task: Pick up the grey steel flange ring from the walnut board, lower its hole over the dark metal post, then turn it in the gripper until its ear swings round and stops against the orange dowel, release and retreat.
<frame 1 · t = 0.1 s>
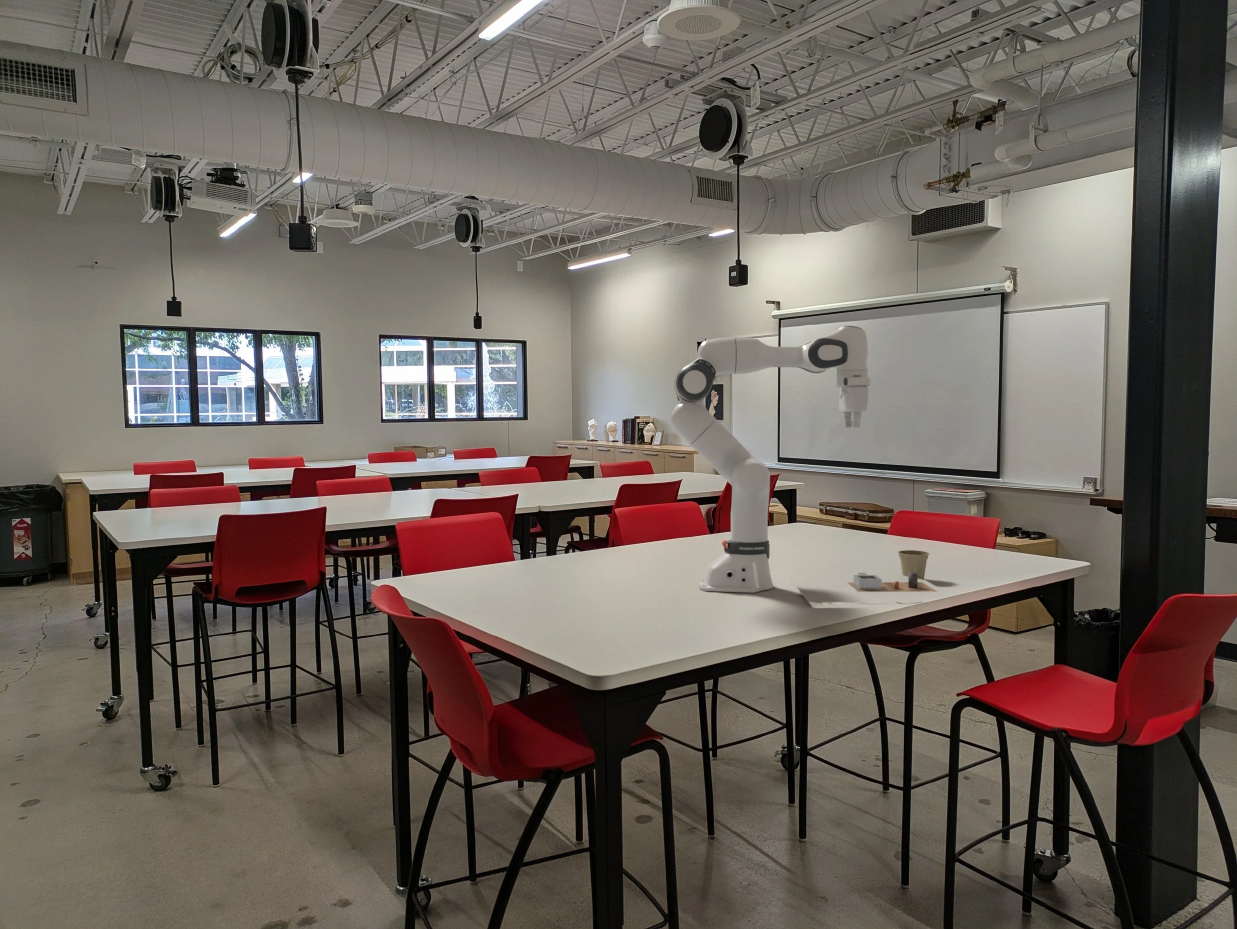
hand: (852, 427, 242), 48 cm above the table, fingers open, 8 cm apart
flower pot: (913, 580, 254), on the table
flange: (862, 583, 241), point 1 cm above the table, touching board
board: (890, 591, 236), on the table
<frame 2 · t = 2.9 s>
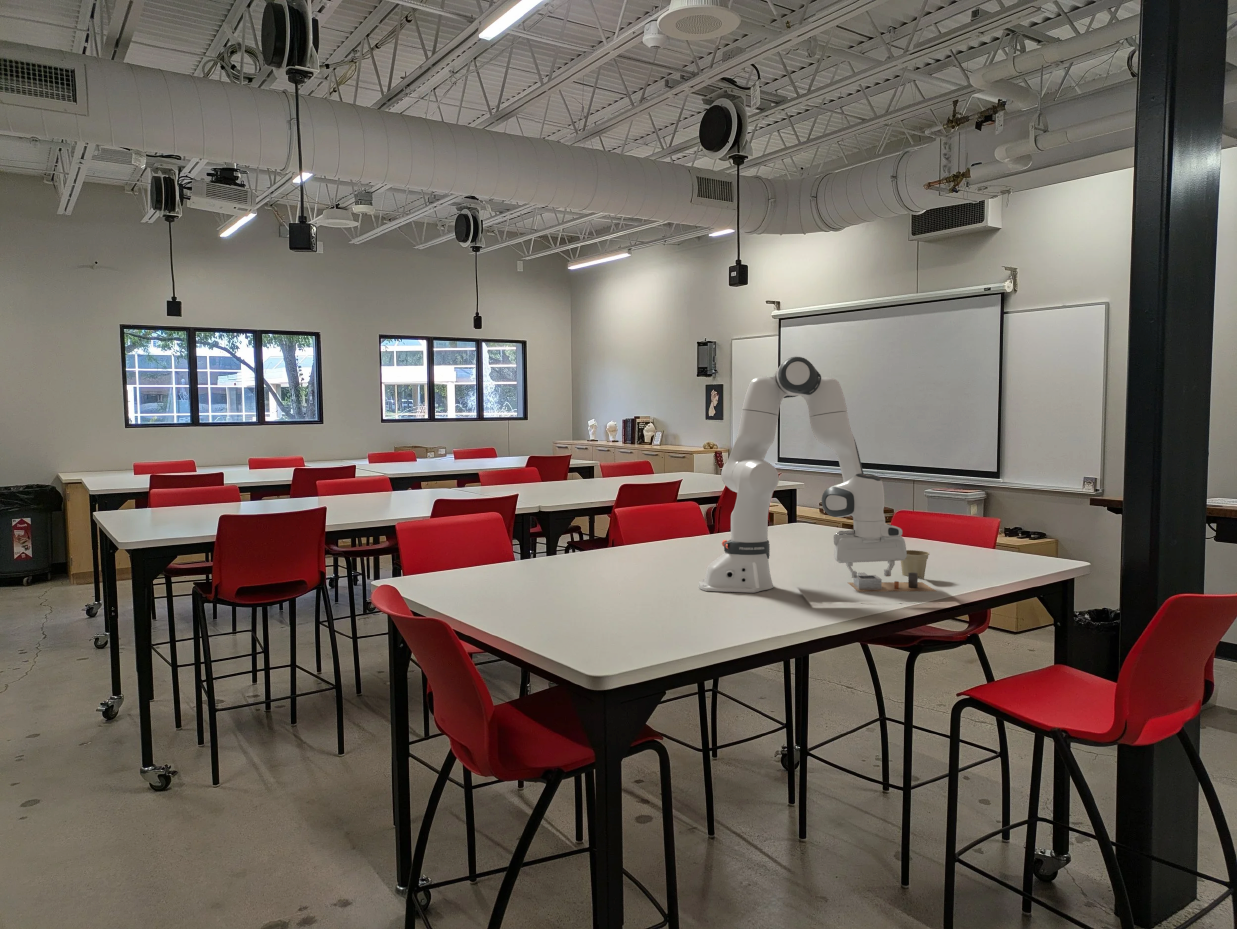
hand: (870, 576, 236), 4 cm above the table, fingers open, 8 cm apart
flange: (862, 583, 241), point 2 cm above the table, touching board, gripper
everything else where it was.
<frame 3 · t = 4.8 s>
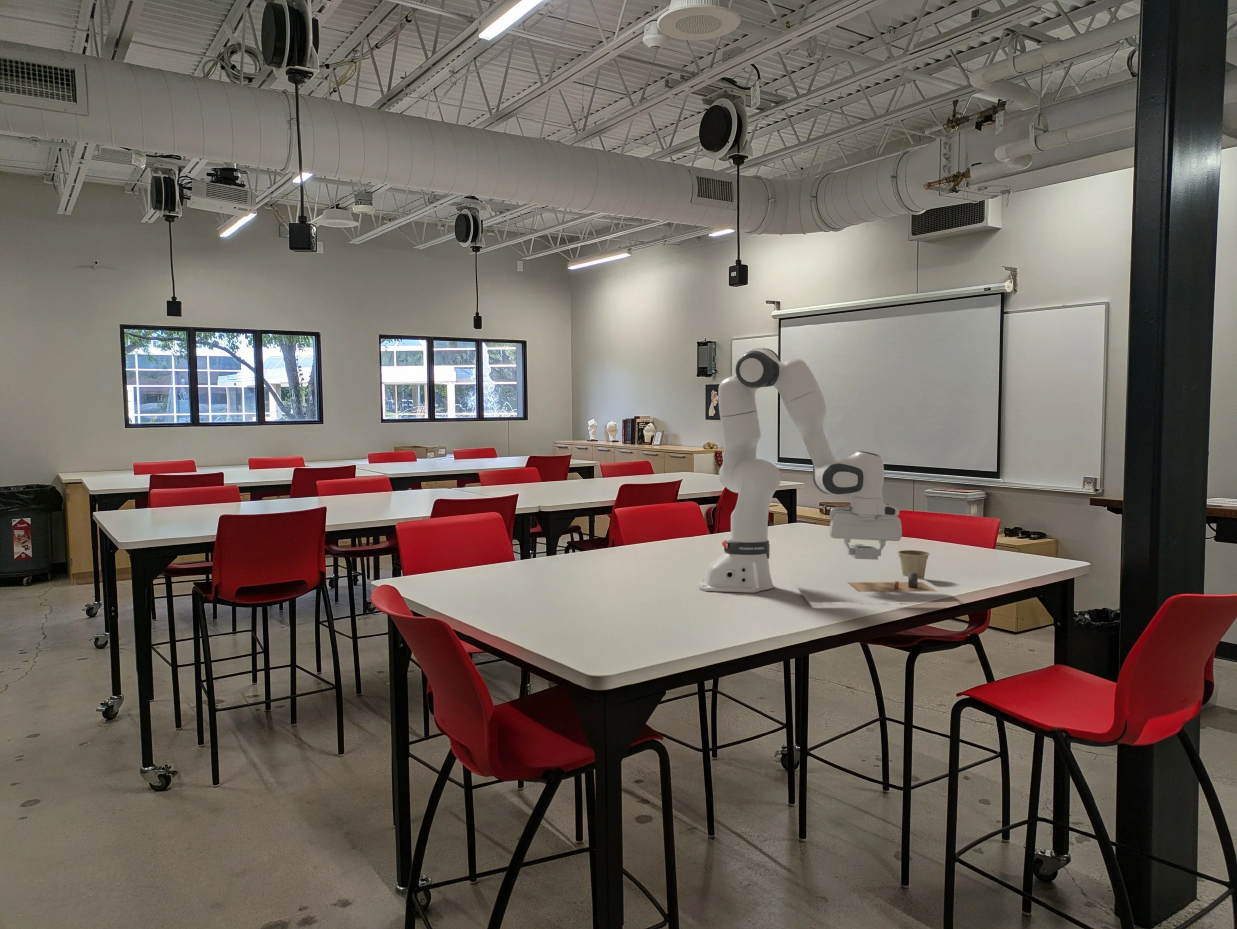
hand: (863, 555, 235), 11 cm above the table, fingers closed on flange, 6 cm apart
flange: (858, 554, 241), point 10 cm above the table, touching gripper
everything else where it was.
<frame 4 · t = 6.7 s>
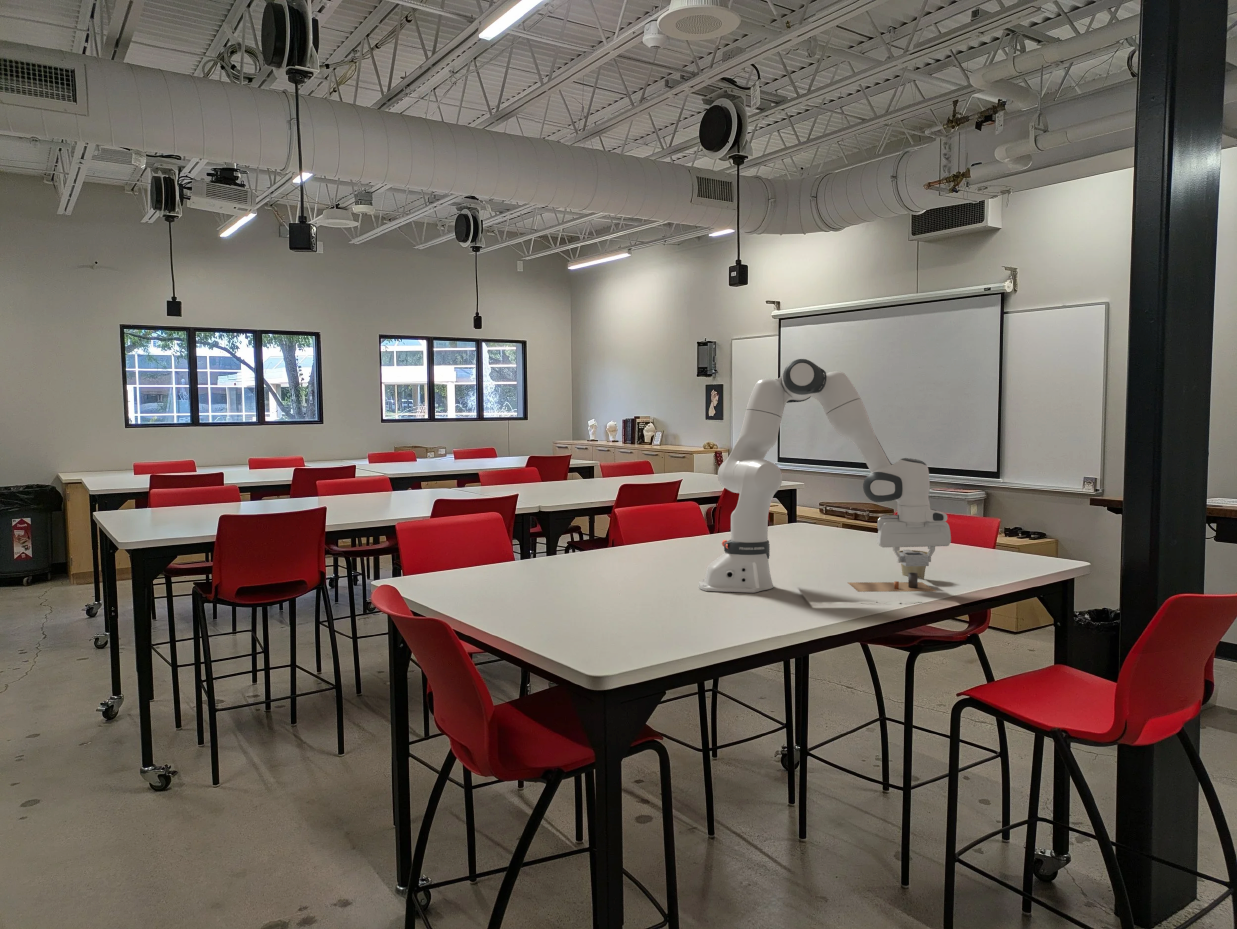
hand: (913, 562, 235), 9 cm above the table, fingers closed on flange, 6 cm apart
flange: (907, 560, 241), point 8 cm above the table, touching gripper
everything else where it was.
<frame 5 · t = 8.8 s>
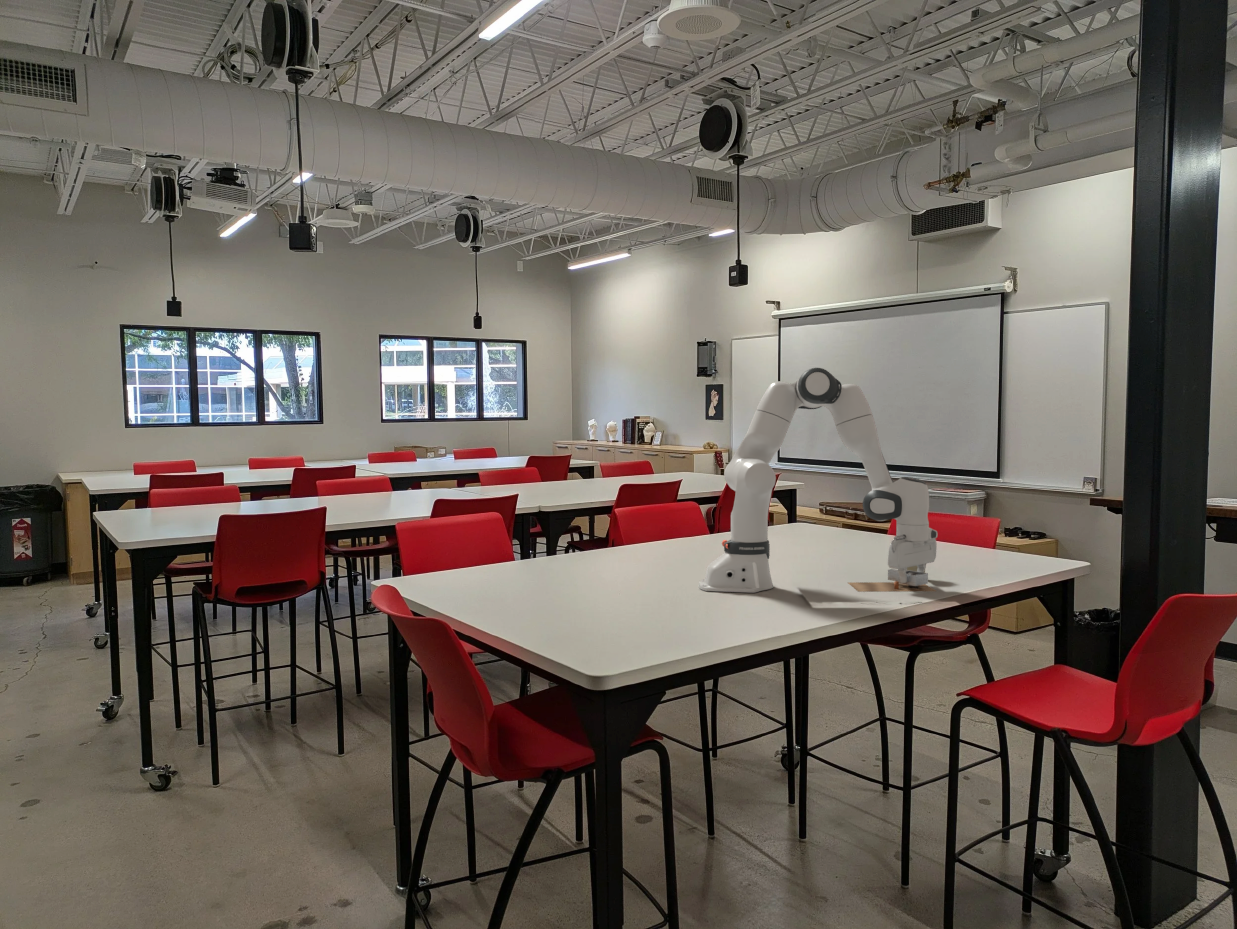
hand: (911, 580, 235), 3 cm above the table, fingers closed on flange, 6 cm apart
flange: (893, 579, 240), point 3 cm above the table, touching gripper
everything else where it was.
when the fingers open (2 cm above the table, at t = 10.2 s): flange stays where it is, resting on board.
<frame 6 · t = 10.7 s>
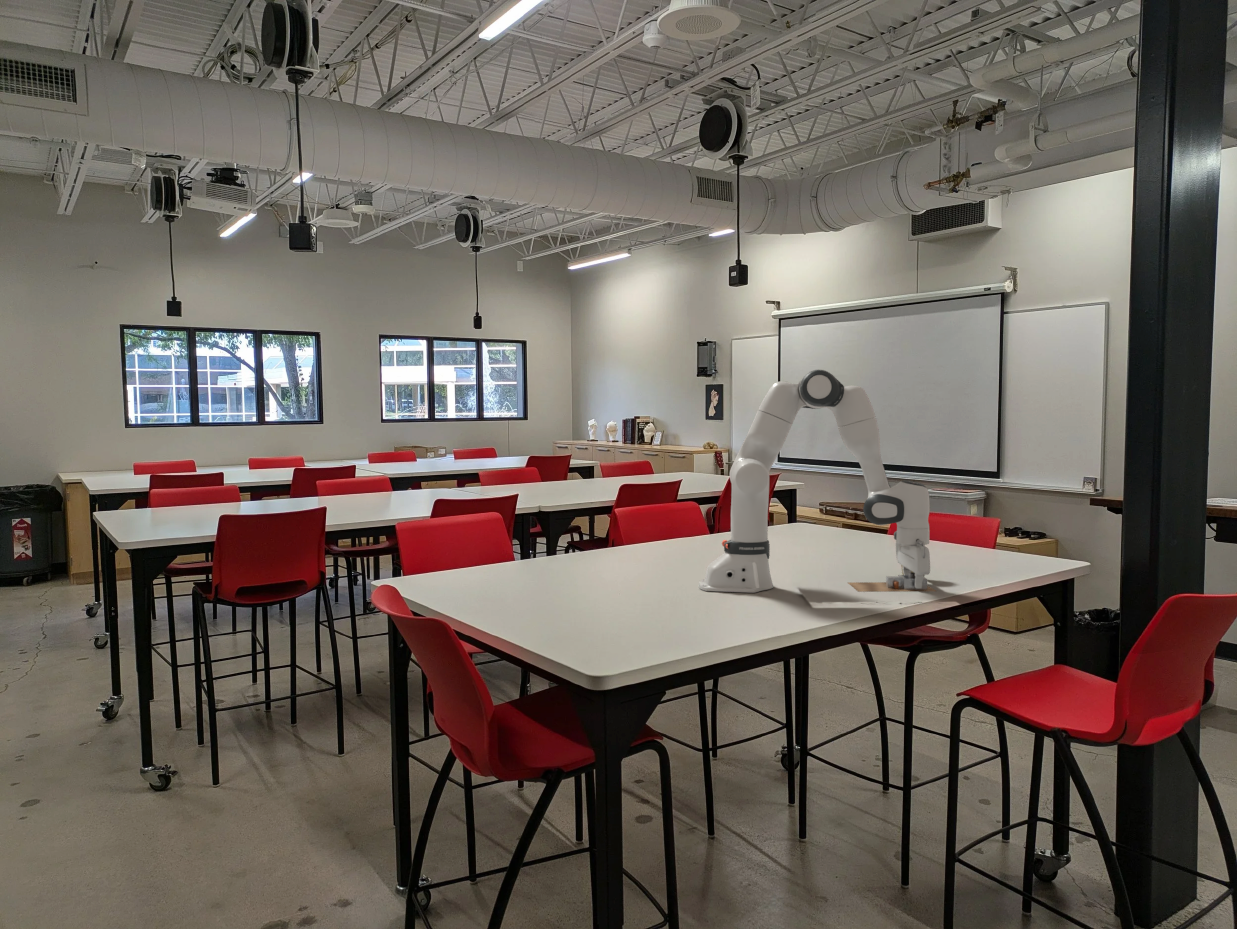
hand: (912, 584, 235), 2 cm above the table, fingers open, 8 cm apart
flange: (891, 587, 235), point 1 cm above the table, touching board
everything else where it was.
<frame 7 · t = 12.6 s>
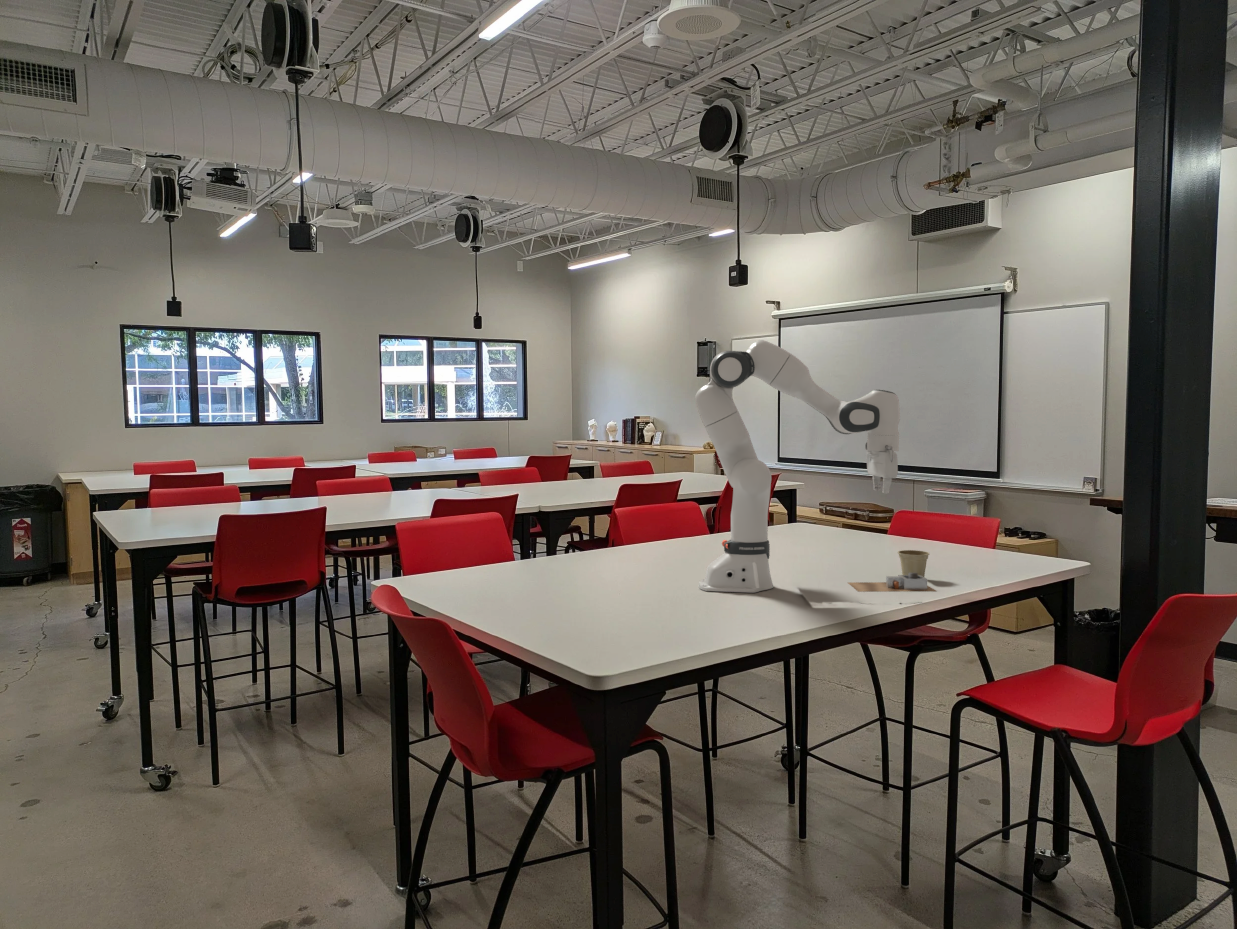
hand: (881, 491, 240), 29 cm above the table, fingers open, 8 cm apart
nothing on the table moved.
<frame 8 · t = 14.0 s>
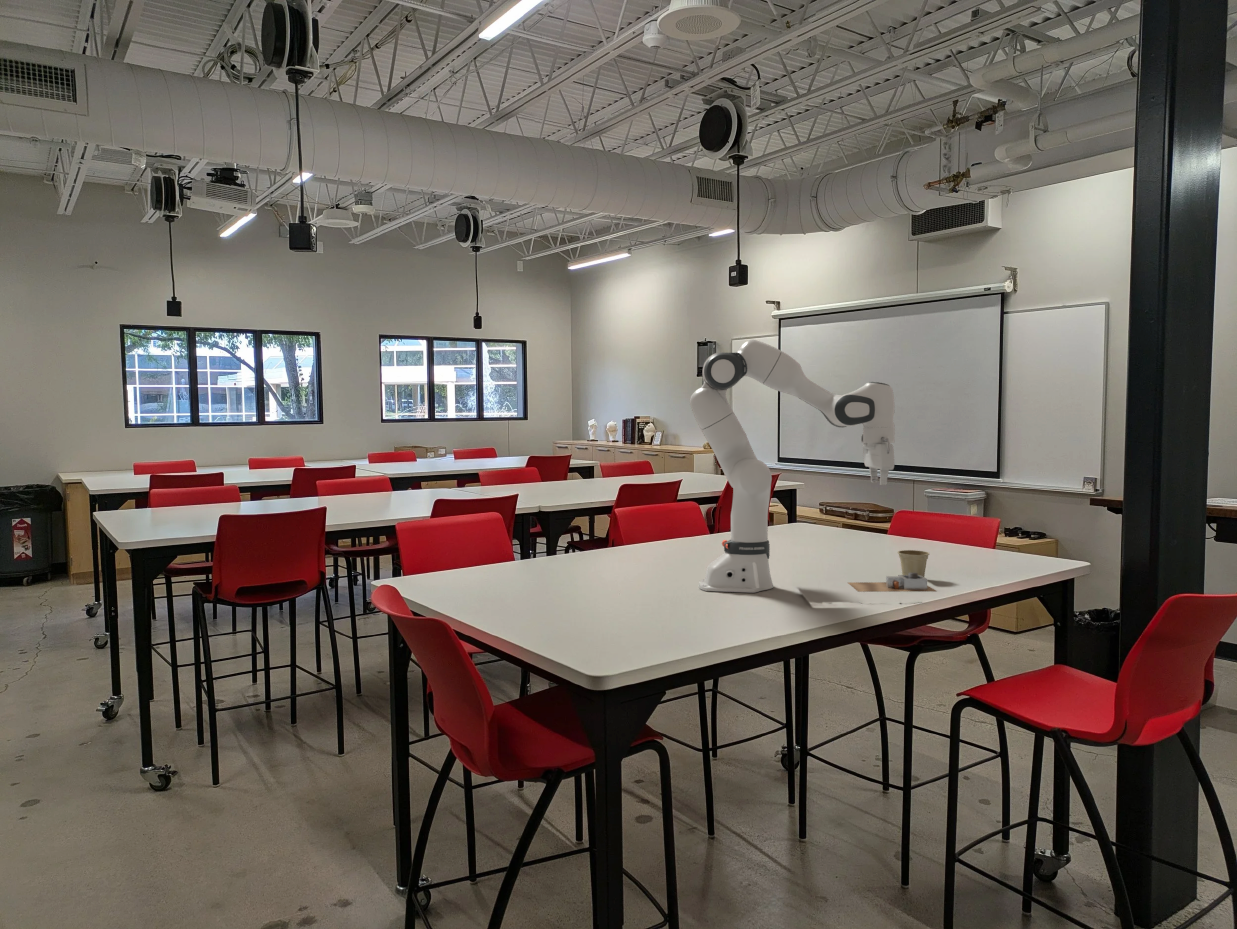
hand: (878, 483, 241), 31 cm above the table, fingers open, 8 cm apart
nothing on the table moved.
at the end: flange 0.5 cm from the target spot on the board, point 1.5 cm above the board's base; flange tilted 0°; the gripper is holding nothing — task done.
